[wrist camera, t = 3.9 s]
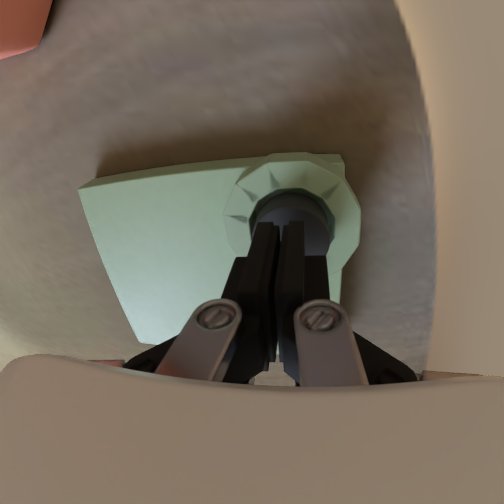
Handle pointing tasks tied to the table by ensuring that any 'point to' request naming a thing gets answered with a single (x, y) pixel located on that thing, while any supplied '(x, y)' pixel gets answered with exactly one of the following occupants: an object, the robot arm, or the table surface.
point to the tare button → (298, 219)
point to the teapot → (21, 25)
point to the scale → (204, 229)
